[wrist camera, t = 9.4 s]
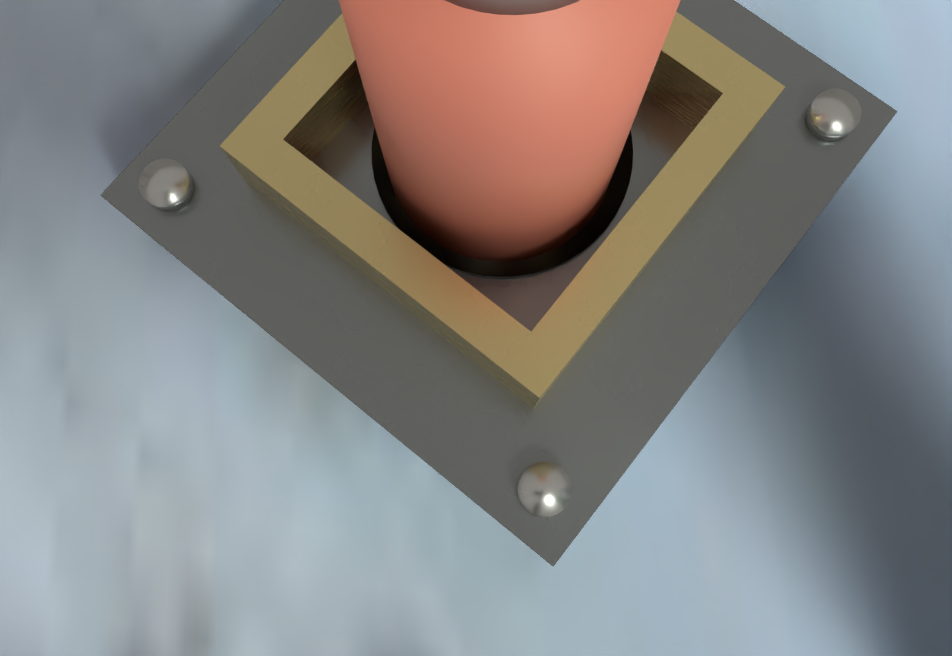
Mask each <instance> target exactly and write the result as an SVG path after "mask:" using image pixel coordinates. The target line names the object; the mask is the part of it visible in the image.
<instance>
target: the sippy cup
mask: <svg viewBox="0 0 952 656" xmlns="http://www.w3.org/2000/svg"><path fill="white" fill-rule="evenodd" d="M339 3H340V6H341V10H342V13H343V17H344V20H345V24H346V27H347V31H348V34H349V38H350V41H351V45H352V48H353V52H354V55H355V59H356V62H357V66H358V69H359V73H360V76H361V80H362V83H363V87H364V90H365V94H366V97H367V101H368V104H369V108H370V111H371V115H372V118H373V122H374V125H375V129H376V132H377V136H378V139H379V143H380V146H381V150H382V153H383V157H384V160H385V164H386V167H387V171H388V174H389V178H390V181H391V185H392V188H393V190H394V193H395V195H396V198H397V200H398V202H399V204H400V205H401V207H402V209H403V211H404V212H405V213H406V215H407V216H408V217H409V219H410V220H411V222H412V223H413V224H414V225H415V226H416V227H417V228H418V229H419V230H420V231H421V232H422V233H423V234H425V235H426V236H427V237H428V238H430V239H431V240H432V241H434V242H435V243H437V244H439V245H440V246H442V247H444V248H445V249H447V250H450V251H452V252H454V253H457V254H459V255H462V256H465V257H469V258H472V259H477V260H484V261H494V262H507V261H517V260H523V259H527V258H532V257H535V256H538V255H541V254H544V253H546V252H549V251H551V250H553V249H555V248H557V247H558V246H560V245H562V244H564V243H565V242H566V241H568V240H569V239H571V238H572V237H573V236H575V235H576V234H577V233H578V232H579V231H580V230H581V229H582V228H583V227H584V226H585V225H586V224H587V223H588V222H589V220H590V219H591V218H592V217H593V216H594V214H595V212H596V211H597V209H598V207H599V206H600V204H601V202H602V200H603V198H604V196H605V193H606V191H607V189H608V186H609V183H610V181H611V178H612V176H613V173H614V171H615V168H616V165H617V163H618V160H619V158H620V155H621V153H622V150H623V147H624V145H625V142H626V140H627V137H628V134H629V132H630V129H631V127H632V124H633V122H634V119H635V116H636V114H637V111H638V109H639V106H640V104H641V101H642V98H643V96H644V93H645V91H646V88H647V85H648V83H649V80H650V78H651V75H652V73H653V70H654V67H655V65H656V62H657V60H658V57H659V55H660V52H661V49H662V47H663V44H664V42H665V39H666V36H667V34H668V31H669V29H670V26H671V24H672V21H673V18H674V16H675V13H676V11H677V8H678V6H679V3H680V0H339Z"/></svg>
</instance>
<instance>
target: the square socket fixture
mask: <svg viewBox="0 0 952 656" xmlns="http://www.w3.org/2000/svg"><path fill="white" fill-rule="evenodd" d="M896 112H897V111H896V110H895V109H893V108H892V107H890V106H889V105H887V104H886V103H884V102H883V101H881V100H880V99H878V98H877V97H875V96H874V95H872V94H871V93H870V92H868V91H867V90H865V89H864V88H862V87H861V86H859V85H858V84H856V83H855V82H853V81H852V80H850V79H849V78H847V77H846V76H845V75H843V74H842V73H840V72H839V71H837V70H836V69H834V68H833V67H831V66H830V65H828V64H827V63H825V62H824V61H822V60H821V59H820V58H818V57H817V56H815V55H814V54H812V53H811V52H809V51H808V50H806V49H805V48H803V47H802V46H800V45H799V44H797V43H796V42H795V41H793V40H792V39H790V38H789V37H787V36H786V35H784V34H783V33H781V32H780V31H778V30H777V29H775V28H774V27H772V26H771V25H770V24H768V23H767V22H765V21H764V20H762V19H761V18H759V17H758V16H756V15H755V14H753V13H752V12H750V11H749V10H747V9H746V8H745V7H743V6H742V5H740V4H739V3H737V2H736V1H734V0H680V3H679V6H678V8H677V11H676V13H675V16H674V18H673V21H672V24H671V26H670V29H669V31H668V34H667V36H666V39H665V42H664V44H663V47H662V49H661V52H660V55H659V57H658V60H657V62H656V65H655V67H654V70H653V73H652V75H651V78H650V80H649V83H648V85H647V88H646V91H645V93H644V96H643V98H642V101H641V104H640V106H639V109H638V111H637V114H636V116H635V119H634V122H633V124H632V127H631V129H630V132H629V134H628V137H627V140H626V142H625V145H624V147H623V150H622V153H621V155H620V158H619V160H618V163H617V165H616V168H615V171H614V173H613V176H612V178H611V181H610V183H609V186H608V189H607V191H606V193H605V196H604V198H603V200H602V202H601V204H600V206H599V207H598V209H597V211H596V212H595V214H594V216H593V217H592V218H591V219H590V220H589V222H588V223H587V224H586V225H585V226H584V227H583V228H582V229H581V230H580V231H579V232H578V233H577V234H576V235H575V236H573V237H572V238H571V239H569V240H568V241H566V242H565V243H564V244H562V245H560V246H558V247H557V248H555V249H553V250H551V251H549V252H546V253H544V254H541V255H538V256H535V257H532V258H527V259H523V260H517V261H507V262H494V261H484V260H477V259H472V258H469V257H465V256H462V255H459V254H457V253H454V252H452V251H450V250H447V249H445V248H444V247H442V246H440V245H439V244H437V243H435V242H434V241H432V240H431V239H430V238H428V237H427V236H426V235H425V234H423V233H422V232H421V231H420V230H419V229H418V228H417V227H416V226H415V225H414V224H413V223H412V222H411V220H410V219H409V217H408V216H407V215H406V213H405V212H404V211H403V209H402V207H401V205H400V204H399V202H398V200H397V198H396V195H395V193H394V190H393V188H392V185H391V181H390V178H389V174H388V171H387V167H386V164H385V160H384V157H383V153H382V150H381V146H380V143H379V139H378V136H377V132H376V129H375V125H374V122H373V118H372V115H371V111H370V108H369V104H368V101H367V97H366V94H365V90H364V87H363V83H362V80H361V76H360V73H359V69H358V66H357V62H356V59H355V55H354V52H353V48H352V45H351V41H350V38H349V34H348V31H347V27H346V24H345V20H344V17H343V13H342V10H341V6H340V3H339V0H284V1H283V2H282V3H281V4H280V5H279V6H278V7H277V8H276V9H275V11H274V12H273V13H272V14H271V15H270V16H269V17H268V18H267V19H266V20H265V21H264V22H263V23H262V24H261V25H260V26H259V27H258V29H257V30H256V31H255V32H254V33H253V34H252V35H251V36H250V37H249V38H248V39H247V40H246V41H245V42H244V43H243V44H242V46H241V47H240V48H239V49H238V50H237V51H236V52H235V53H234V54H233V55H232V56H231V57H230V58H229V59H228V60H227V61H226V62H225V64H224V65H223V66H222V67H221V68H220V69H219V70H218V71H217V72H216V73H215V74H214V75H213V76H212V77H211V78H210V79H209V81H208V82H207V83H206V84H205V85H204V86H203V87H202V88H201V89H200V90H199V91H198V92H197V93H196V94H195V95H194V96H193V98H192V99H191V100H190V101H189V102H188V103H187V104H186V105H185V106H184V107H183V108H182V109H181V110H180V111H179V112H178V113H177V114H176V116H175V117H174V118H173V119H172V120H171V121H170V122H169V123H168V124H167V125H166V126H165V127H164V128H163V129H162V130H161V131H160V133H159V134H158V135H157V136H156V137H155V138H154V139H153V140H152V141H151V142H150V143H149V144H148V145H147V146H146V147H145V148H144V149H143V151H142V152H141V153H140V154H139V155H138V156H137V157H136V158H135V159H134V160H133V161H132V162H131V163H130V164H129V165H128V166H127V168H126V169H125V170H124V171H123V172H122V173H121V174H120V175H119V176H118V177H117V178H116V179H115V180H114V181H113V182H112V183H111V185H110V186H109V187H108V188H107V189H106V190H105V191H104V192H103V193H102V194H101V196H102V197H103V198H104V199H105V200H107V201H108V202H109V203H110V204H111V205H113V206H114V207H115V208H116V209H118V210H119V211H120V212H121V213H122V214H124V215H125V216H126V217H127V218H129V219H130V220H131V221H132V222H133V223H135V224H136V225H137V226H138V227H140V228H141V229H142V230H143V231H144V232H146V233H147V234H148V235H149V236H151V237H152V238H153V239H154V240H155V241H157V242H158V243H159V244H160V245H162V246H163V247H164V248H165V249H166V250H168V251H169V252H170V253H171V254H172V255H174V256H175V257H176V258H177V259H179V260H180V261H181V262H182V263H183V264H185V265H186V266H187V267H188V268H190V269H191V270H192V271H193V272H194V273H196V274H197V275H198V276H199V277H201V278H202V279H203V280H204V281H205V282H207V283H208V284H209V285H210V286H212V287H213V288H214V289H215V290H216V291H218V292H219V293H220V294H221V295H223V296H224V297H225V298H226V299H227V300H229V301H230V302H231V303H232V304H233V305H235V306H236V307H237V308H238V309H240V310H241V311H242V312H243V313H244V314H246V315H247V316H248V317H249V318H251V319H252V320H253V321H254V322H255V323H257V324H258V325H259V326H260V327H262V328H263V329H264V330H265V331H266V332H268V333H269V334H270V335H271V336H273V337H274V338H275V339H276V340H277V341H279V342H280V343H281V344H282V345H284V346H285V347H286V348H287V349H288V350H290V351H291V352H292V353H293V354H294V355H296V356H297V357H298V358H299V359H301V360H302V361H303V362H304V363H305V364H307V365H308V366H309V367H310V368H312V369H313V370H314V371H315V372H316V373H318V374H319V375H320V376H321V377H323V378H324V379H325V380H326V381H327V382H329V383H330V384H331V385H332V386H334V387H335V388H336V389H337V390H338V391H340V392H341V393H342V394H343V395H345V396H346V397H347V398H348V399H349V400H351V401H352V402H353V403H354V404H355V405H357V406H358V407H359V408H360V409H362V410H363V411H364V412H365V413H366V414H368V415H369V416H370V417H371V418H373V419H374V420H375V421H376V422H377V423H379V424H380V425H381V426H382V427H384V428H385V429H386V430H387V431H388V432H390V433H391V434H392V435H393V436H395V437H396V438H397V439H398V440H399V441H401V442H402V443H403V444H404V445H406V446H407V447H408V448H409V449H410V450H412V451H413V452H414V453H415V454H416V455H418V456H419V457H420V458H421V459H423V460H424V461H425V462H426V463H427V464H429V465H430V466H431V467H432V468H434V469H435V470H436V471H437V472H438V473H440V474H441V475H442V476H443V477H445V478H446V479H447V480H448V481H449V482H451V483H452V484H453V485H454V486H456V487H457V488H458V489H459V490H460V491H462V492H463V493H464V494H465V495H467V496H468V497H469V498H470V499H471V500H473V501H474V502H475V503H476V504H477V505H479V506H480V507H481V508H482V509H484V510H485V511H486V512H487V513H488V514H490V515H491V516H492V517H493V518H495V519H496V520H497V521H498V522H499V523H501V524H502V525H503V526H504V527H506V528H507V529H508V530H509V531H510V532H512V533H513V534H514V535H515V536H517V537H518V538H519V539H520V540H521V541H523V542H524V543H525V544H526V545H528V546H529V547H530V548H531V549H532V550H534V551H535V552H536V553H537V554H538V555H540V556H541V557H542V558H543V559H545V560H546V561H547V562H548V563H549V564H551V565H552V566H554V565H555V564H556V562H557V561H558V560H559V558H560V557H561V556H562V554H563V553H564V552H565V550H566V549H567V548H568V546H569V545H570V544H571V543H572V541H573V540H574V539H575V537H576V536H577V535H578V533H579V532H580V531H581V529H582V528H583V527H584V525H585V524H586V523H587V521H588V520H589V519H590V517H591V516H592V515H593V513H594V512H595V511H596V509H597V508H598V507H599V505H600V504H601V503H602V502H603V500H604V499H605V498H606V496H607V495H608V494H609V492H610V491H611V490H612V488H613V487H614V486H615V484H616V483H617V482H618V480H619V479H620V478H621V476H622V475H623V474H624V472H625V471H626V470H627V468H628V467H629V466H630V464H631V463H632V462H633V460H634V459H635V458H636V457H637V455H638V454H639V453H640V451H641V450H642V449H643V447H644V446H645V445H646V443H647V442H648V441H649V439H650V438H651V437H652V435H653V434H654V433H655V431H656V430H657V429H658V427H659V426H660V425H661V423H662V422H663V421H664V419H665V418H666V417H667V415H668V414H669V413H670V412H671V410H672V409H673V408H674V406H675V405H676V404H677V402H678V401H679V400H680V398H681V397H682V396H683V394H684V393H685V392H686V390H687V389H688V388H689V386H690V385H691V384H692V382H693V381H694V380H695V378H696V377H697V376H698V374H699V373H700V372H701V370H702V369H703V368H704V367H705V365H706V364H707V363H708V361H709V360H710V359H711V357H712V356H713V355H714V353H715V352H716V351H717V349H718V348H719V347H720V345H721V344H722V343H723V341H724V340H725V339H726V337H727V336H728V335H729V333H730V332H731V331H732V329H733V328H734V327H735V326H736V324H737V323H738V322H739V320H740V319H741V318H742V316H743V315H744V314H745V312H746V311H747V310H748V308H749V307H750V306H751V304H752V303H753V302H754V300H755V299H756V298H757V296H758V295H759V294H760V292H761V291H762V290H763V288H764V287H765V286H766V284H767V283H768V282H769V281H770V279H771V278H772V277H773V275H774V274H775V273H776V271H777V270H778V269H779V267H780V266H781V265H782V263H783V262H784V261H785V259H786V258H787V257H788V255H789V254H790V253H791V251H792V250H793V249H794V247H795V246H796V245H797V243H798V242H799V241H800V239H801V238H802V237H803V236H804V234H805V233H806V232H807V230H808V229H809V228H810V226H811V225H812V224H813V222H814V221H815V220H816V218H817V217H818V216H819V214H820V213H821V212H822V210H823V209H824V208H825V206H826V205H827V204H828V202H829V201H830V200H831V198H832V197H833V196H834V194H835V193H836V192H837V191H838V189H839V188H840V187H841V185H842V184H843V183H844V181H845V180H846V179H847V177H848V176H849V175H850V173H851V172H852V171H853V169H854V168H855V167H856V165H857V164H858V163H859V161H860V160H861V159H862V157H863V156H864V155H865V153H866V152H867V151H868V150H869V148H870V147H871V146H872V144H873V143H874V142H875V140H876V139H877V138H878V136H879V135H880V134H881V132H882V131H883V130H884V128H885V127H886V126H887V124H888V123H889V122H890V120H891V119H892V118H893V116H894V115H895V114H896Z"/></svg>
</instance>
